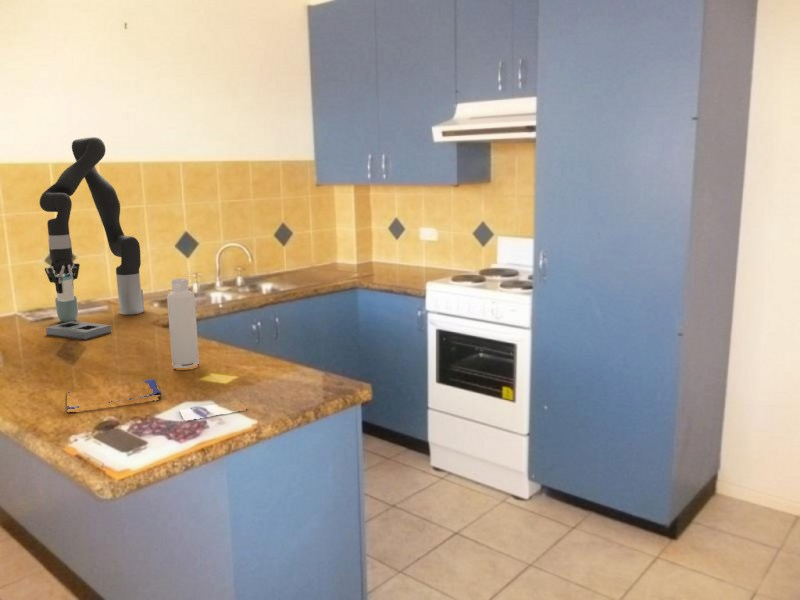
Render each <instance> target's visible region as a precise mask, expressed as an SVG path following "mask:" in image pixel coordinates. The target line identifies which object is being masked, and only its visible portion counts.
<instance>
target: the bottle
mask: <svg viewBox="0 0 800 600" xmlns="http://www.w3.org/2000/svg"><path fill="white" fill-rule="evenodd" d="M195 298H196V297H195V294H194V292H193V291H191V290H189V280H188V278H183V277H181V278H173V279H171V291H170V292H169V293H168V294H167V297H166V302H167V315H168V316H167V317H168V327H169V328H168V329H169V340H170V342H169V343H170V350H171V351H170V352H171V361H172V363H171V367H172V366H173V367H174V368H188V367H192V366H195V365H197V364H199V365H200V360H199V358H200V357H199V355H200V354H199V342H198V328H197V314H196V313H197V312H196V299H195ZM192 363H193V364H192ZM174 364H175V365H174Z"/></svg>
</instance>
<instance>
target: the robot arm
mask: <svg viewBox="0 0 800 600" xmlns="http://www.w3.org/2000/svg"><path fill="white" fill-rule="evenodd" d="M71 150H72V154H73V157H74V159H75V162H74V163H72V164H70V166H68V167H67V168H65V170H64V171H63V172H61V174H60V175H59V177H58V179H57V180H56V182H55V183H53V184H52V185H50V186H49V187H48V188H47V189H46V190H45V191H44V192H43V193H42V194H41V196H40V198H39V207H40V208H41V210H43V211H45V212H48V213H56V217H55V218H50V219H48V220H47V222H46V225H47V233H48V251H49V258H50V261H51V263H50V264H51V265H50V266H48V267H45V268H44V271H45V274H46V276H47V278H48V281H49V282H50V283H51V284H52V283H53V284H54V285H55V291H56V294H57V293H60V294H61V293H63V291H62V284H61V281H62V279H61V278H62V277H63V276H72V282H73V283H74V280H77V279H78V276H79V271H80V266H81V265H80V263H75V262H73V258H74V257H73V250H72V249H73V248H72V239H71V235H70V228H69V227H70V225H69V222H70V217H71V213H72V212H71V211H72V207H73V205H72V199H71V196H73V195H74V194H75V193H76V191H77V189H78V188H79V186H80V184H81V183H82V181H83V179H85V182H86V184H87V187H88V188H89V189H88V190H89V192H90V194H91V197H92V200H93V203H94V205H95V208H96V210H97V213H98V215H99V218H100V220H101V224H102V225H103V229H104V231H105V236H106V239H107V243H108V247H109V250H110V251H111V253H112V254H113V255H114V256H115V257H117V258H120V259H121V260H120V265H119V266H116V267H115V275H116V284H117V285H116V286H117V297H118V306H119V314H120V315H124V316H125V315H126V316H127V315H128V316H129V315H138V314H141V313H143V312H145V301H144V291H143V289H142V288H141V276H140V268H141V263H142V261H141V246H140V242H139V240H138V239H137V238H135V236H132V235H131V236H130V235H125V233H124V232H123V230H122V226H121V223H120V215H121V202H120V200H119V197H118V194H117V192H116V189H115V188H114V187H113V186H112V184H111V183H110V182H109V181H108V180H107V179H105V178H104V177H103V176H102V175H101V174H100V173H99V172H98V170H97V168H96V166H97V164H98V163H99V162H100V161H101V160H103V158H104V156H105V155H106V145H105V142H104V141H103V140H102V139H101V138H99V137H97V136H90V137H89V136H88V137H81V138H76V139H74V140H73V141H72V142H71ZM73 290H75V288H74V286H73Z"/></svg>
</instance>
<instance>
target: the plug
mask: <svg viewBox="0 0 800 600" xmlns="http://www.w3.org/2000/svg"><path fill="white" fill-rule="evenodd" d="M61 279H62V281H61V284H62V291H63V293H61V294H60V293H57V292H56V298H58V301H62V302H67V301H71V300H74V296H75V294H74V289H73V287H74V281H73V282H72V276H64V275H63V277H62V278H61Z"/></svg>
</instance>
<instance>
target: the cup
mask: <svg viewBox="0 0 800 600" xmlns="http://www.w3.org/2000/svg"><path fill="white" fill-rule="evenodd" d="M54 301H55V308H56V309H55V311H56V314H57V318H58V320H59V321H60V322H62V323H66V322H70V321H77V319H78V316H79V307H78V297H77V296H76V295H74V300H71V301H67V302H62V301H58V298H57V297H55V299H54Z"/></svg>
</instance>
